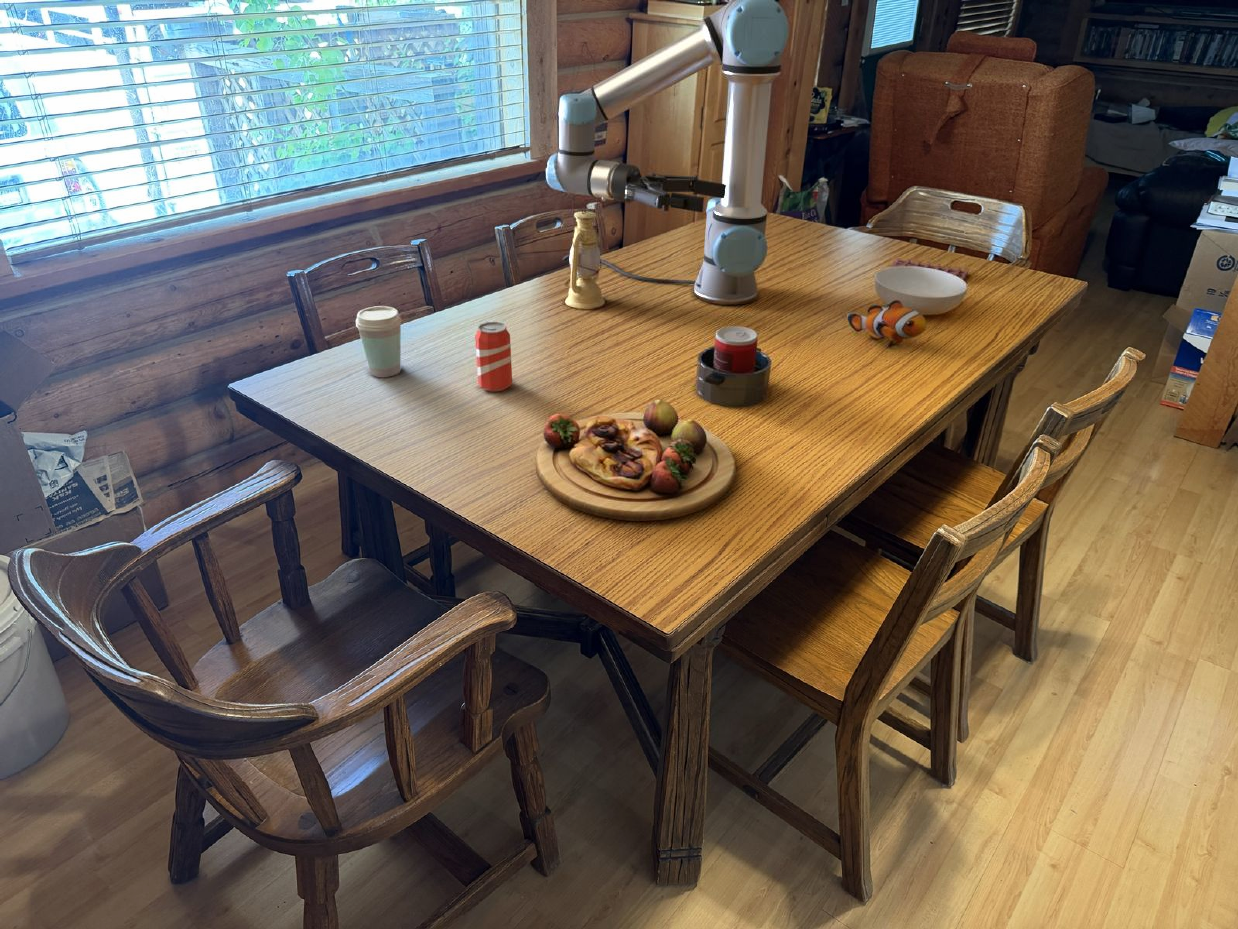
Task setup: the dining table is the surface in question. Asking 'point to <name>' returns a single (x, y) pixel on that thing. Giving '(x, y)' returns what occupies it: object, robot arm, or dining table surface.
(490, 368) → the beverage can
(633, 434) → the wooden plate
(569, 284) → the lantern
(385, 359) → the coffee cup
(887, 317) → the fish
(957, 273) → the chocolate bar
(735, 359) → the canned food
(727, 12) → the robot arm
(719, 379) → the pot handles
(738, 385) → the pot
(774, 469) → the dining table surface
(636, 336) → the dining table surface
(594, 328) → the dining table surface
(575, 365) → the dining table surface
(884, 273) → the serving bowl
